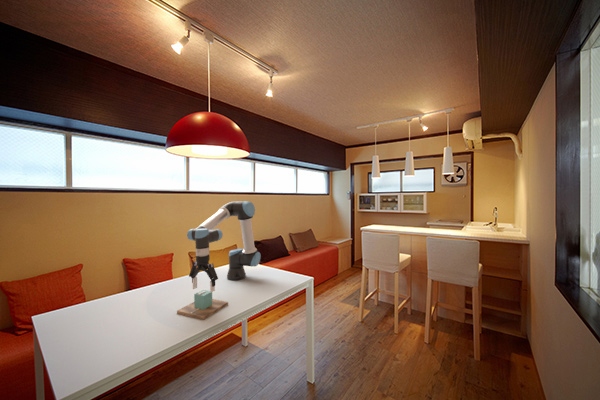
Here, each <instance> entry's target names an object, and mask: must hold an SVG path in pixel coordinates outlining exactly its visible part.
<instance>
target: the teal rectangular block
mask: <svg viewBox="0 0 600 400" xmlns="http://www.w3.org/2000/svg"><path fill="white" fill-rule="evenodd" d="M193 298H194V300H193V302H194V308H199V309H203V310H204V309H206V308H207V307H209V306H211V305H212V299H213V292H212V293H211V292H210V290H206V289H203V290H200V291H199V292H196V293H194V296H193Z"/></svg>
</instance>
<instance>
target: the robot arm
mask: <svg viewBox="0 0 600 400" xmlns="http://www.w3.org/2000/svg"><path fill="white" fill-rule="evenodd" d="M255 213H256V207H255V204H254V203H253V202H251V201H248V200H242V201H241V200H235V201H230V202H228V203H226V204H224V205H222V206H221V207H219V209H218V210H217V211H216V212H215V213H214V214H213V215H211V216H210V217H209V218H207V219H206V220H205V221H203V222H202V223H201V224H200V225H199V226H198V227H196V228H191V229H189V230H188V231H187V233H186V237H187V239H188V240H189V241H194V243H195V261H193V262H192V266H191V269H190V272H189V275H188V277H189V278H190V277H191V283H192V290H195V289H197V288H198V277H197V276H198V274H199V272H200V271H203V272H205V273H206V274H207V276H208V278H209V279H210V281H209V286H210V287H209V289H210V290H209V291H210V292H211V293H212V294H213V292H215V291H216V289H215V288H216V281H217V280H219V276H218V274H217V272H216V269H215V265H214V263H213V262H212V263H209V262H210V244H211V243H214V242H218V241H220V240H221V239H222V238H223V237H224V235H223V232H222V230H221V229H220V228H216V227H217V226H219V224H221V223H222V222H223V221H225V220H226V219H228V218H230V217H237V220H238V221H239V223H240V230H241V237H242V243H243V248H235V249H231V250H229V253H228V272H227V274H226V279H227V280H230V281H239V280H244V279H245V278H246V276H247V275H246V272H245V268H244V267H245V266H246V267H257V266H258V265H259V264H260V262H261V259H262V258H261V257H262V256H261V253H260V252H259V251H258V249H257V248H256V247H255V240H254V239H255V238H254V232H253V223H252V219H253V217H254V216H255Z"/></svg>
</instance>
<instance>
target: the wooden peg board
mask: <svg viewBox="0 0 600 400" xmlns="http://www.w3.org/2000/svg"><path fill="white" fill-rule="evenodd" d="M228 305H229V302H228V301H224V300H219V299H215V298H212V305H211V306H209V307H207V308H206V309H204V310H203V309H199V308H194V301H193V302H191V303H189V304H187V305H185V306H183V307H182V308H179V309H178V310H176V314H179V315H182V316H186V317H191V318H195V319H199V320H206V319H207V318H209V317H211V316H212V315H214V314H216V313H218V312H219V311H221V310H222V309H223V308H225V307H226V306H228Z"/></svg>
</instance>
